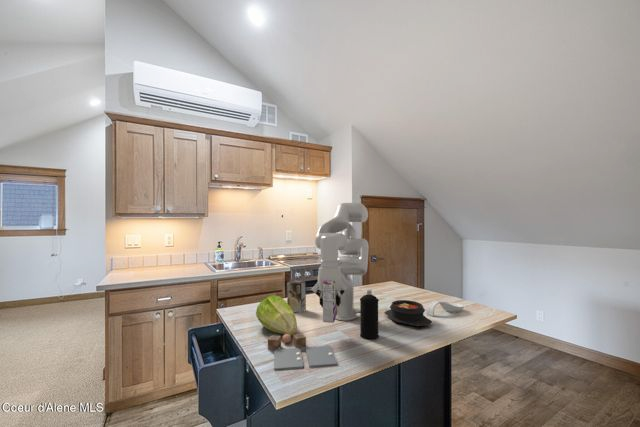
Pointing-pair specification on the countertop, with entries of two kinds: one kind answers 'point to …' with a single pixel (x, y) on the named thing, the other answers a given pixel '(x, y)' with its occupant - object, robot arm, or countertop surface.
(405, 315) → the casserole
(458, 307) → the white slipper
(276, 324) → the lettuce
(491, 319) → the countertop surface
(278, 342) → the walnut cube
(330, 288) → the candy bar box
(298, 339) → the walnut cube
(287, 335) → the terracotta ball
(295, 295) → the coffee box
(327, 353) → the pad one
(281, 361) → the pad two
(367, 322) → the aerosol can
